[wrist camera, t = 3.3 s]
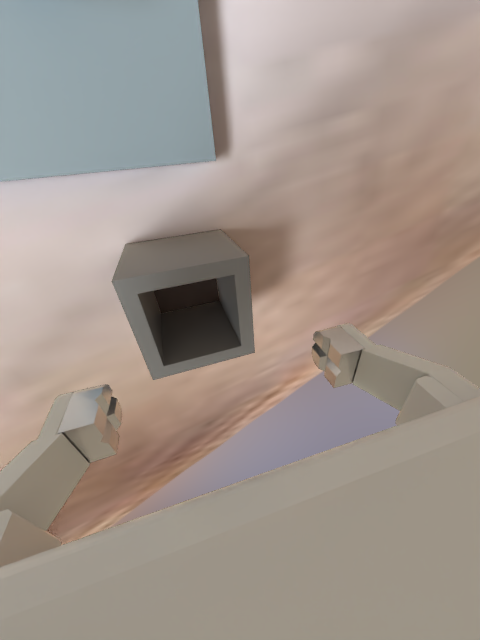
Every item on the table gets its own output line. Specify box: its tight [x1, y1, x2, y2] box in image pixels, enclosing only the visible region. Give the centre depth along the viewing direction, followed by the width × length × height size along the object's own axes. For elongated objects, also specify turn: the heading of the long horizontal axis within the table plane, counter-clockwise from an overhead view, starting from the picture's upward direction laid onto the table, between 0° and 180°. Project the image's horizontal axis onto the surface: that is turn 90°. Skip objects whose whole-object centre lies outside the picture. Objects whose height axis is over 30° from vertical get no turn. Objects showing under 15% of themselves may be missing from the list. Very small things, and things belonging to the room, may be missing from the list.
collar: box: [112, 229, 255, 380], centre depth 15 cm, size 6×6×6 cm
